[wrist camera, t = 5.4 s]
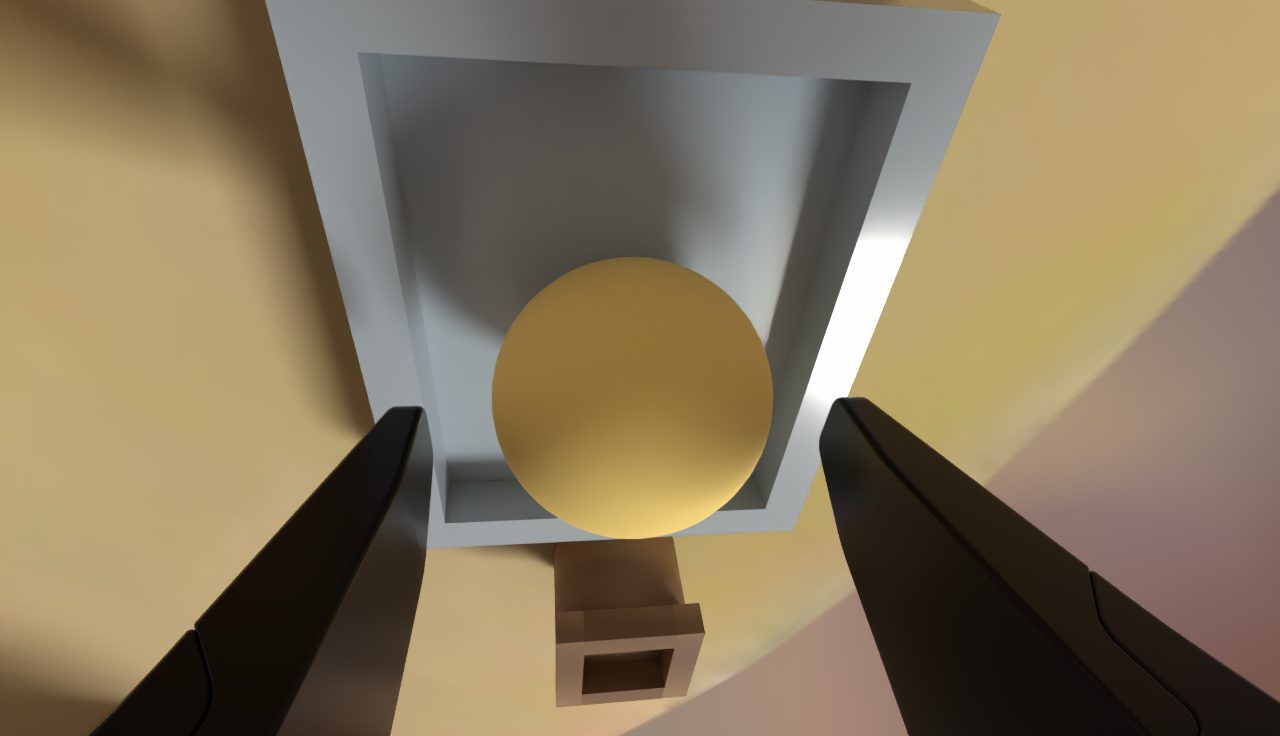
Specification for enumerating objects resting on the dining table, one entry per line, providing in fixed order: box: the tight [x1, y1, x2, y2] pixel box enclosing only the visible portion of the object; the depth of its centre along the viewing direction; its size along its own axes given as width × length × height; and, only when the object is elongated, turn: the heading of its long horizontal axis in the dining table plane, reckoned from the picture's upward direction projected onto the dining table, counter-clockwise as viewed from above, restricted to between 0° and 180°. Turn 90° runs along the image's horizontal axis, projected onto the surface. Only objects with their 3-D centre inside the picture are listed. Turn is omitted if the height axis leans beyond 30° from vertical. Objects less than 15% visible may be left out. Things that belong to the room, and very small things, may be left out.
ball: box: [492, 257, 773, 539], centre depth 9 cm, size 4×4×4 cm
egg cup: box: [554, 536, 705, 707], centre depth 16 cm, size 3×3×3 cm
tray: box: [265, 0, 1001, 549], centre depth 11 cm, size 10×8×2 cm
